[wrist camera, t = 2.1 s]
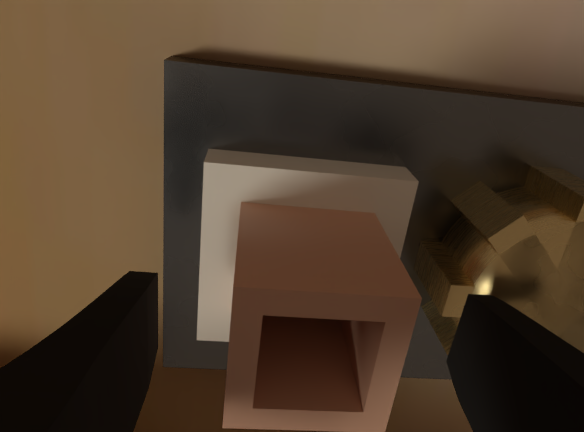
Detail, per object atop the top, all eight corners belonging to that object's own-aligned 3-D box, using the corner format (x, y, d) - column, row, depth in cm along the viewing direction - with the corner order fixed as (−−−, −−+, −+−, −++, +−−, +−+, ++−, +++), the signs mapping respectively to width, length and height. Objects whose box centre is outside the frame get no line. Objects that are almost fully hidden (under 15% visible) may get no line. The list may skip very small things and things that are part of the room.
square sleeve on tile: (201, 315, 15) (173, 459, 10) (208, 148, 13) (178, 234, 8) (369, 325, 16) (417, 464, 11) (405, 167, 13) (486, 256, 9)
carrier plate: (168, 347, 17) (142, 442, 13) (170, 55, 13) (135, 76, 9) (715, 373, 19) (822, 460, 15) (866, 135, 15) (1061, 177, 11)
